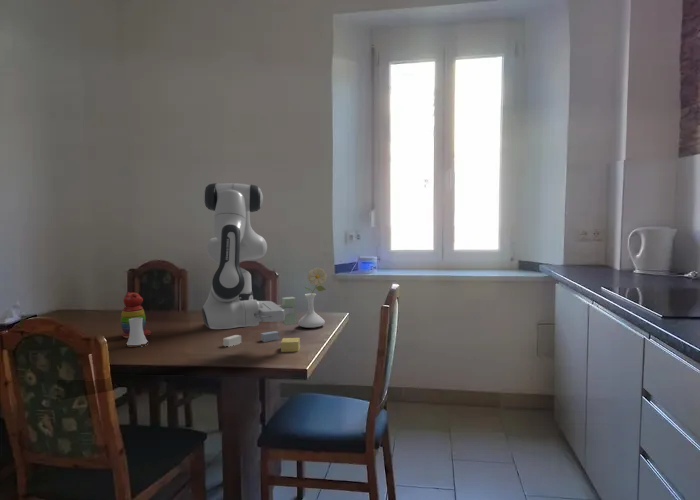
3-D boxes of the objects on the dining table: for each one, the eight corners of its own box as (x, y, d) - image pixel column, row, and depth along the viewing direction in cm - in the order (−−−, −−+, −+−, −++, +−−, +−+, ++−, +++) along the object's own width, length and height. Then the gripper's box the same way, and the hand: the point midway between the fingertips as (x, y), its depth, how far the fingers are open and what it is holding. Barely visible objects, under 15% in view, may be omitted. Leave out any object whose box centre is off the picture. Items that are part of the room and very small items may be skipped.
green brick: (285, 325, 169) (284, 299, 169) (282, 322, 173) (281, 297, 173) (296, 323, 171) (295, 298, 170) (293, 321, 175) (292, 296, 174)
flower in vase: (295, 329, 202) (292, 269, 200) (301, 323, 213) (299, 266, 211) (326, 330, 200) (324, 269, 198) (331, 323, 211) (329, 266, 210)
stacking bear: (153, 335, 200) (151, 291, 199) (128, 340, 192) (125, 295, 191) (141, 331, 207) (138, 289, 206) (116, 336, 200) (114, 292, 198)
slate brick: (264, 342, 184) (263, 334, 183) (261, 341, 186) (260, 333, 186) (279, 340, 187) (278, 332, 187) (275, 338, 189) (275, 330, 189)
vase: (149, 345, 183) (147, 319, 183) (127, 348, 180) (125, 321, 179) (146, 341, 190) (145, 315, 189) (125, 344, 186) (123, 318, 185)
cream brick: (229, 347, 178) (228, 339, 178) (223, 346, 180) (223, 338, 180) (241, 343, 183) (241, 335, 183) (235, 342, 185) (235, 334, 185)
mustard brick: (281, 352, 170) (280, 342, 170) (283, 347, 176) (282, 338, 176) (298, 351, 170) (298, 342, 170) (300, 347, 176) (299, 337, 176)
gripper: (257, 308, 157) (299, 304, 162) (246, 299, 176) (284, 296, 181) (258, 328, 158) (299, 323, 163) (247, 316, 177) (285, 313, 182)
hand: (291, 309), depth 172 cm, fingers closed on green brick, 4 cm apart
